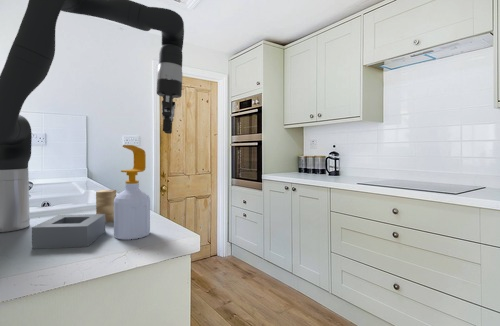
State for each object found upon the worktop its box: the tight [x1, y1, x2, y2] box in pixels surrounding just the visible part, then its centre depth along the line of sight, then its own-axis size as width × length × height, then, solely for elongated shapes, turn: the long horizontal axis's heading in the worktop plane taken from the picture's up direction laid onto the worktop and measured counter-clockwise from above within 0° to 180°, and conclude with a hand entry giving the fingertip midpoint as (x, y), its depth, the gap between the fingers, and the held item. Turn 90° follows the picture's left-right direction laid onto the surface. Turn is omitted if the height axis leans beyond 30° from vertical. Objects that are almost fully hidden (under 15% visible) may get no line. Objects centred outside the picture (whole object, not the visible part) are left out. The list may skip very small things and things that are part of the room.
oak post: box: [95, 189, 117, 223], centre depth 90 cm, size 5×5×10 cm
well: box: [31, 213, 106, 250], centre depth 72 cm, size 12×12×5 cm
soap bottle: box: [113, 144, 151, 241], centre depth 75 cm, size 9×9×25 cm
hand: (167, 132), depth 87 cm, fingers open, 8 cm apart
